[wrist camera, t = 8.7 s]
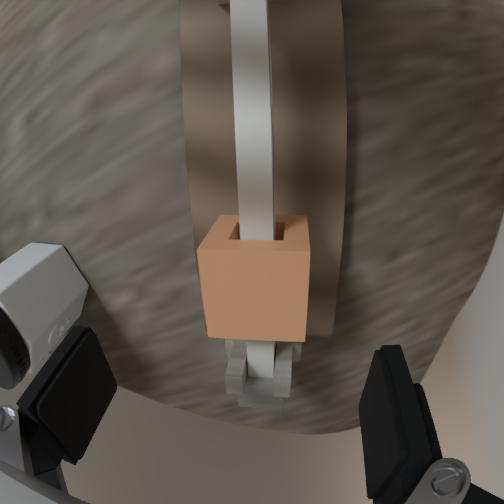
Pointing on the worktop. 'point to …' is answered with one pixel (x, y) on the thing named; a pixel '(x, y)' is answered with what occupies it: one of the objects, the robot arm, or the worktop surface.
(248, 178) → the cube slider rail
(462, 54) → the worktop surface
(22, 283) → the jar
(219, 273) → the sleeve
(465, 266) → the worktop surface
